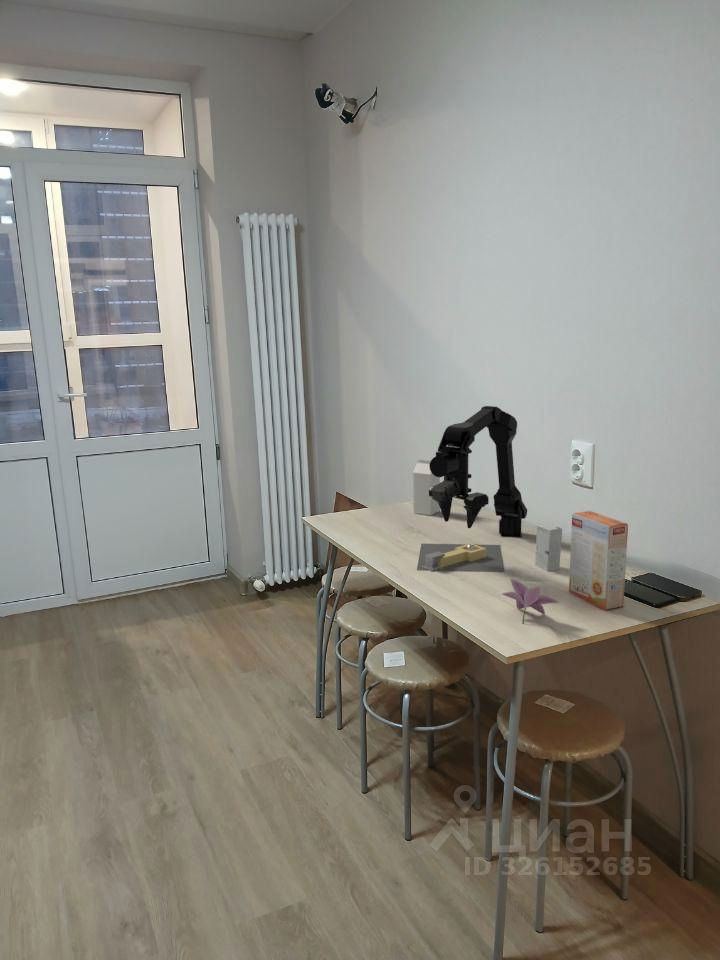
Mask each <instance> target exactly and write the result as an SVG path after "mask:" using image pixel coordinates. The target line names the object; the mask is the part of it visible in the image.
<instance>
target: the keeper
mask: <svg viewBox="0 0 720 960" xmlns="http://www.w3.org/2000/svg"><path fill="white" fill-rule="evenodd" d="M443 556H445V554H443V553H440V552H434V553H430V554H427V555H425V566H422V567H421V568H423V569H426V570H429V572H437V571H436V570H439V569H440V568H439V567H438V558H440V557H443Z"/></svg>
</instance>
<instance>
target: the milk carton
mask: <svg viewBox="0 0 720 960" xmlns="http://www.w3.org/2000/svg"><path fill="white" fill-rule="evenodd" d="M430 462H431V460H424V459H417V463H416V465H415V467H414V470H413V471H412V480H413V481H412V485H413V486H412V490H413V491H412V492H413V493H412V498H413V500H412V501H413V503H412V507H413V510H412V511H413V514H419V515H426V516H433V515H434V514H436V513H438V512H440V511H441V509H440V506H439V504H438V503H437V502H436V501H435V500H433V499H432V497H431V496H429V489H430V487H431V486H435V485H437V484H439V483H441V477H436V476H434V475H433V474H432V473H431V471H430V467H429V464H430Z"/></svg>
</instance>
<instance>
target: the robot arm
mask: <svg viewBox="0 0 720 960" xmlns="http://www.w3.org/2000/svg"><path fill="white" fill-rule="evenodd" d="M485 428H487V430H488V434H489V438H490V439H491V441H492V442H493V443H494V444H495V454H496V465H497V474H498V475H497V477H498V489H497V491H496V493H495V494H494V495H493V500H494V501H493V507H494V511H495V512H494V513H495V516H496V517H498V516H499V517H500V518H499V519H498V534H499V535H500V537H502V538H523V534H522V520H523V519H527V516H528V508H527V507H526V504H525V503H524V501H523V498H522V493H521V491H520V489H518V488H517V486H516V482H515V480H516V479H515V468H514V457H513V456H514V455H513V454H514V453H513V441H514V439H515V437H516V435H517V429H518V422H517V419H516V418H515V416H513V415H511V414H510V413H507V412H506V411H505V410H504V411H503V410H502V409H501V408H500V407H498V406H494V405H493V406H492V405H485V406H482V407H481V409H480V410H478V411H477V412H476V413H474V414H473V415H472V416H470V417H469V418H467V419H466V420H464V421H463V422H458V423H454V424H451V425H448V426H447V427H446V428H445V430H444V432H443V434H442V436H441V437H442V438H441V440H440V443H439V445H438V448H437V451H436V452H435V456H434V457H433V458H431V460H430V461H431V462H430V464H429V467H430V471H431V473H432V474H433V475H434V476H436V477H440V478H443V481H440V483H439V484H437V485H435V486H431V487H430V489H429V496H431V497H432V499H433V500H435V501H436V502H437V503H438V504H439V506H440V511H441V515H442V516H443V521H444V522H445V523H446V522H449V520H450V515H451V509H452V504H453V498H454V499H458V500H462V501H463V503H464V505H463V506H462V507H463V508H464V510H465V511H466V527H467V529H471V528H472V527H473V525H474V523H475V521H476V519H477V517H478V515H479V514H480V512H481V510H482V508H485V507H486V506H487V505H489V503H490V502H489V500H490V499H489V496H488V494H485V493H481V492H478V491H477V492H473V493H472V488H470V487H469V479H472V474H471V473H469V454H473V453H472V452H473V451H472V449H471V448H470V446H471V445H472V444H473V443H474V442H475V440H476V439H475V438H476V435H477V434H479V433H480V432H481V431H483V430H484V429H485Z"/></svg>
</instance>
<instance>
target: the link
mask: <svg viewBox="0 0 720 960" xmlns="http://www.w3.org/2000/svg"><path fill="white" fill-rule="evenodd" d="M469 544H470V543H467V545H469ZM471 544H472V545H474V544H473V543H471ZM467 545H463V546H460V547H456V548H455V550H454V551H451V552H447V553H443V554H445V556H443V557H440V558H438V567H440V568H441V567H445V566H448V565H452V564H455V563H458V562H462V561H465V560H467V561H470V562H471V561H474V560H478V559H481V558H484V557H486V548H483V547H480V546H477V545H474V550H473V551H469V550H467Z"/></svg>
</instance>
